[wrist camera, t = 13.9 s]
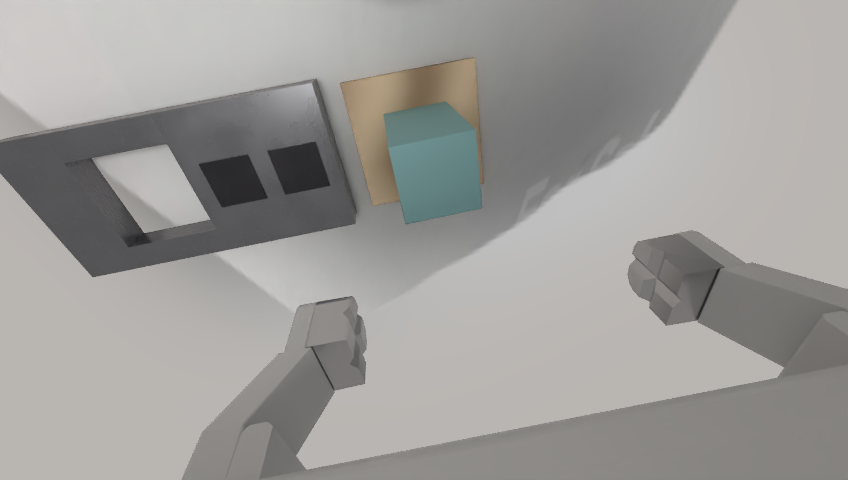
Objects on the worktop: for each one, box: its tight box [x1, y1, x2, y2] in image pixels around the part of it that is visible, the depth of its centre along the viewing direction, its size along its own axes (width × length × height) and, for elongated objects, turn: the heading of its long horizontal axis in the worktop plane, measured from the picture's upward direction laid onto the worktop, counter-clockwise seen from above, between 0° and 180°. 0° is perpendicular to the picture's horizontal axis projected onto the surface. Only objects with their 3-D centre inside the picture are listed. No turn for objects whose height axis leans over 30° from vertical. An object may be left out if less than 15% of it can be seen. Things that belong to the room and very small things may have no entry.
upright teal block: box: [383, 101, 482, 224], centre depth 21 cm, size 4×4×8 cm
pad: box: [340, 57, 483, 206], centre depth 25 cm, size 9×9×1 cm
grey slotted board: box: [0, 79, 356, 277], centre depth 24 cm, size 20×10×2 cm, turn 99°
